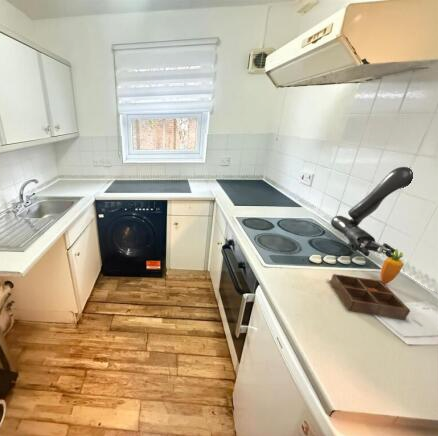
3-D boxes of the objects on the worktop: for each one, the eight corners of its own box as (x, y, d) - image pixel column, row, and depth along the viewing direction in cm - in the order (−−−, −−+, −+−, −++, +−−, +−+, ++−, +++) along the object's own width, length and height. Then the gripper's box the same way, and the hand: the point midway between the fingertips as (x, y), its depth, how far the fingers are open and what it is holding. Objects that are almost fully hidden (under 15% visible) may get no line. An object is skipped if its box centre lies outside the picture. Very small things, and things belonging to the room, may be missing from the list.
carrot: (392, 290, 89) (409, 256, 83) (374, 284, 92) (390, 251, 86) (392, 284, 92) (408, 250, 87) (375, 278, 96) (389, 246, 90)
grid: (376, 289, 90) (381, 280, 88) (405, 320, 76) (410, 310, 74) (329, 282, 93) (333, 273, 92) (348, 310, 80) (352, 301, 78)
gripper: (344, 229, 110) (362, 245, 96) (381, 232, 107) (406, 250, 92) (339, 243, 113) (356, 261, 99) (375, 247, 110) (398, 266, 95)
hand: (380, 255), depth 96 cm, fingers open, 8 cm apart
